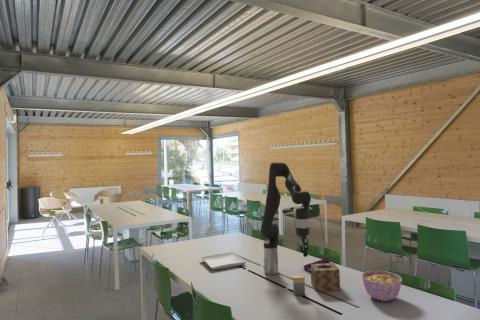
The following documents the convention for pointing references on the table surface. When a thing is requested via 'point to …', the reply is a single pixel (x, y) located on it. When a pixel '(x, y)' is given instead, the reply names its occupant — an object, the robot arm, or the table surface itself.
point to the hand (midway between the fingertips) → (303, 254)
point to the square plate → (223, 260)
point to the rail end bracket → (299, 285)
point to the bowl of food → (382, 284)
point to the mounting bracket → (317, 262)
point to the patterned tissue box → (325, 277)
